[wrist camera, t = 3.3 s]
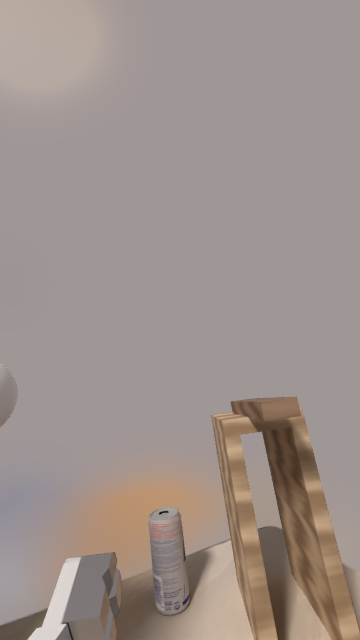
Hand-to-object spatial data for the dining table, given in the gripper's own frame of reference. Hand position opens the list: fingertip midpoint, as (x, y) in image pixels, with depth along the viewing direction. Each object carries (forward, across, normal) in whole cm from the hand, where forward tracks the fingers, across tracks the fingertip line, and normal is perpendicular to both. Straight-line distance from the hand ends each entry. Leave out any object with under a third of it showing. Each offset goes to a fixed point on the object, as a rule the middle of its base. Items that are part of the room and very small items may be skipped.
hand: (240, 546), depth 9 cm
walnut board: (+27, +9, -14) cm, 31 cm away
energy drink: (+24, -7, -42) cm, 49 cm away
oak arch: (+19, +9, -39) cm, 44 cm away
